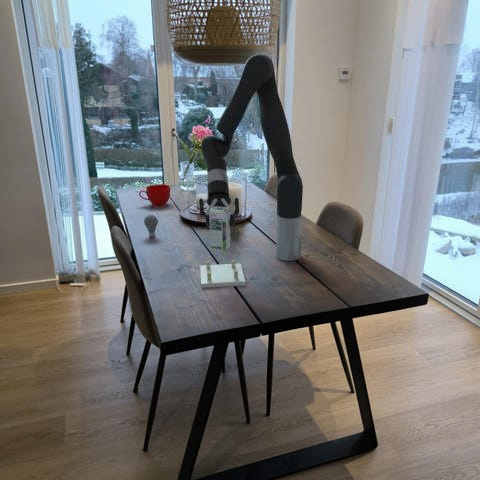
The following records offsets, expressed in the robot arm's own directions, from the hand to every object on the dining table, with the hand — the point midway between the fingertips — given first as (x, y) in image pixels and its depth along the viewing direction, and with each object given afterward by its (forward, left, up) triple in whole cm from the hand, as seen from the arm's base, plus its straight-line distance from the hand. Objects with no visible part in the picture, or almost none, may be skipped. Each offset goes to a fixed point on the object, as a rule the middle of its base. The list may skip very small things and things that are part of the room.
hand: (220, 226), depth 149 cm
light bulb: (+28, -44, -19) cm, 56 cm away
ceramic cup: (+30, -94, -19) cm, 101 cm away
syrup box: (0, -1, -8) cm, 8 cm away
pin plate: (0, +1, -19) cm, 19 cm away
